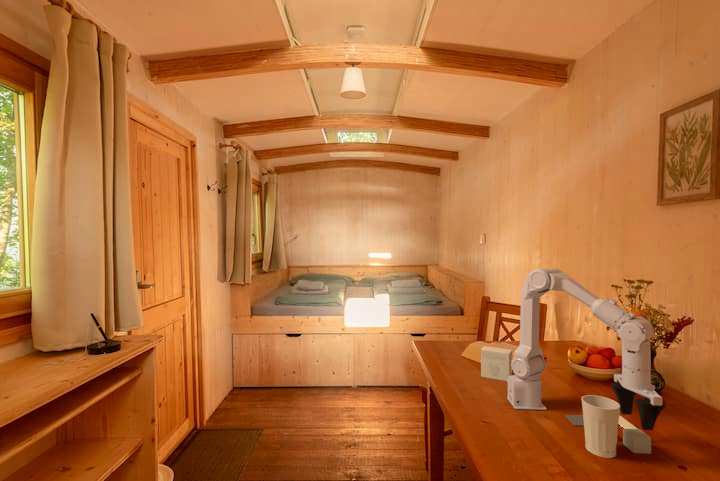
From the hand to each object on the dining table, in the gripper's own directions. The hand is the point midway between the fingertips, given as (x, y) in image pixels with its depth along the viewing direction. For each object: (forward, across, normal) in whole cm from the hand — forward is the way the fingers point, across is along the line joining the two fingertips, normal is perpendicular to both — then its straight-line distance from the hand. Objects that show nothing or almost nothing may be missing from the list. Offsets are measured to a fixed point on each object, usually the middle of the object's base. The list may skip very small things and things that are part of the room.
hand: (636, 421), depth 90 cm
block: (+7, 0, 0) cm, 7 cm away
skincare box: (+7, +46, +21) cm, 51 cm away
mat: (+7, +13, +7) cm, 16 cm away
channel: (+7, +9, 0) cm, 11 cm away
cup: (+7, -2, +10) cm, 12 cm away
